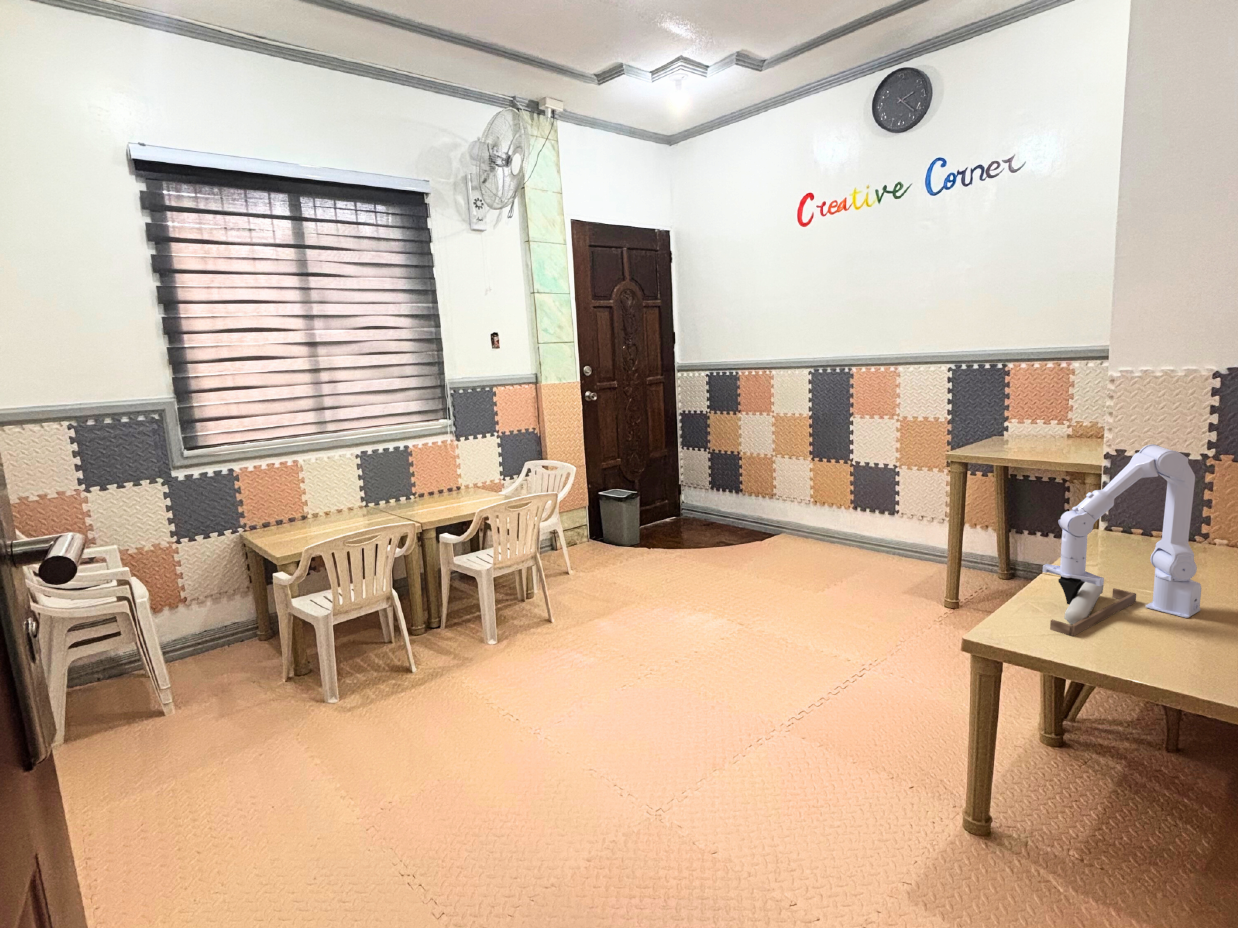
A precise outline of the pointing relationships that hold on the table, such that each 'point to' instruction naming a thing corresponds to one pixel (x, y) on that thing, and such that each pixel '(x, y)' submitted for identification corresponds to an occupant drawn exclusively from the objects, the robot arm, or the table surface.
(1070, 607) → the tube
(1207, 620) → the table surface
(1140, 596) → the table surface
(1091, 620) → the bay
